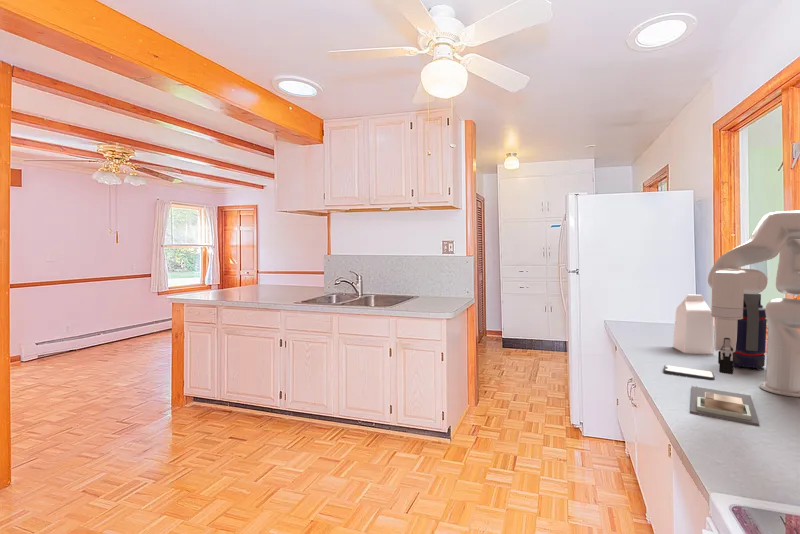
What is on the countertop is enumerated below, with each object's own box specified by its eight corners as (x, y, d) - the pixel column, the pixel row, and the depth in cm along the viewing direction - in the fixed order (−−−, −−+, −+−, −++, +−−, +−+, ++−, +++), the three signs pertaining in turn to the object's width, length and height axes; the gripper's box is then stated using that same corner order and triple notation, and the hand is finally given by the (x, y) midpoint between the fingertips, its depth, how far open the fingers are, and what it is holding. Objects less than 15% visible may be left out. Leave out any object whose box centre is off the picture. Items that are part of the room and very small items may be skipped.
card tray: (697, 410, 129) (697, 406, 129) (697, 400, 137) (697, 396, 137) (751, 420, 122) (751, 416, 122) (748, 409, 129) (748, 405, 129)
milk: (684, 353, 194) (686, 296, 193) (672, 346, 206) (674, 293, 204) (713, 354, 192) (716, 296, 191) (700, 347, 204) (702, 293, 202)
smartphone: (712, 375, 165) (664, 368, 173) (713, 371, 165) (664, 364, 173) (714, 382, 157) (663, 374, 166) (715, 378, 157) (663, 370, 166)
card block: (741, 409, 129) (741, 397, 129) (742, 416, 124) (743, 403, 124) (704, 403, 134) (705, 391, 134) (704, 409, 129) (705, 397, 129)
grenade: (723, 360, 182) (726, 290, 180) (759, 363, 177) (762, 291, 175) (732, 369, 170) (735, 294, 168) (770, 373, 165) (774, 295, 163)
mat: (691, 387, 150) (691, 386, 150) (750, 397, 140) (750, 395, 140) (690, 412, 128) (690, 410, 128) (759, 425, 119) (759, 423, 119)
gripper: (710, 306, 136) (709, 359, 138) (711, 316, 122) (710, 374, 124) (740, 308, 132) (739, 362, 133) (745, 318, 118) (743, 379, 119)
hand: (725, 368), depth 129 cm, fingers open, 9 cm apart
